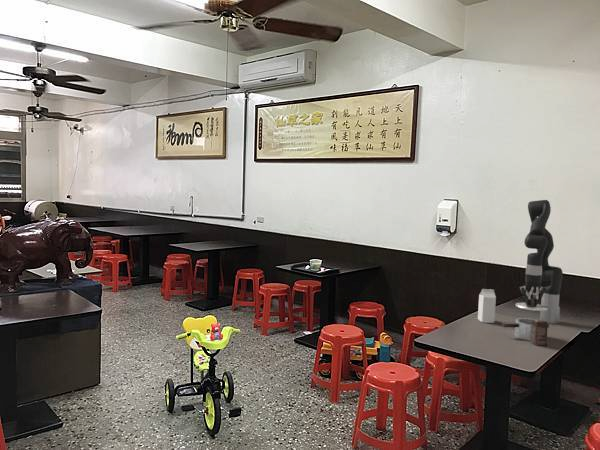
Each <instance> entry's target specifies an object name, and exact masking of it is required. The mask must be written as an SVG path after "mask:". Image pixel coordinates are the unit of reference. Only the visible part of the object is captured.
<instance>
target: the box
mask: <svg viewBox="0 0 600 450" xmlns="http://www.w3.org/2000/svg"><path fill="white" fill-rule="evenodd" d="M548 324H549V323H548V322H547V321H545V320H540V319H534V320H532V336H531V342H530V343H531V345H532V344H533V345H534V346H547V344H548V328H549V327H548Z"/></svg>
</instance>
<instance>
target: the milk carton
mask: <svg viewBox="0 0 600 450" xmlns="http://www.w3.org/2000/svg"><path fill="white" fill-rule="evenodd" d="M496 300H497V296H496V293H495V289H491V288H489V289H487V288H482V289H481V291H480V293H479V295H478V308H477V310H478V311H477V320H478V321H480V322H481V323H486V324H487V323H488V324H489V323H490V324H495V316H496V315H495V314H496V302H497V301H496Z"/></svg>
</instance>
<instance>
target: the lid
mask: <svg viewBox="0 0 600 450" xmlns="http://www.w3.org/2000/svg"><path fill="white" fill-rule="evenodd" d="M515 307H516V308H519V309H521V310H525V311H532V312H540V311H547V309H548V308H547V307H546V306H543V305H541V304H539V303H538V304H537V306H535V299H534V298H530V306H527V305H526V302H516V303H515Z"/></svg>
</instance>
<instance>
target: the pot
mask: <svg viewBox="0 0 600 450" xmlns="http://www.w3.org/2000/svg"><path fill="white" fill-rule="evenodd" d="M532 320H535V319H534V318H526V317H523V318H521V317H520V318H516V319H515V322H501V327H503V328H514V337H515V338H516V337H517V338H518V339H521V340H525V341H531V336H532ZM549 327H550V323H548V328H549Z"/></svg>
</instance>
